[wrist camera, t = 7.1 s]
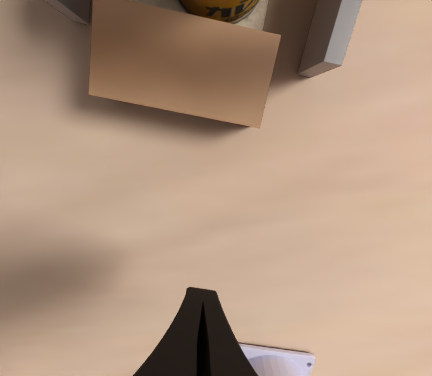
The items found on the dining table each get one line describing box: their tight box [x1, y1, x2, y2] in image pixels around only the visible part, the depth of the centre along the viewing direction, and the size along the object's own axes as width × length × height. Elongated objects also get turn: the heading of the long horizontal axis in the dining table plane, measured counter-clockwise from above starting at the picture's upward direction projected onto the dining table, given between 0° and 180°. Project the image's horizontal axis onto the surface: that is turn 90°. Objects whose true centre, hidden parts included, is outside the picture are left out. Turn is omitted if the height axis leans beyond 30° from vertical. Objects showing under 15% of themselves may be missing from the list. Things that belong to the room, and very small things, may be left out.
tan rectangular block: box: [89, 0, 281, 128], centre depth 15 cm, size 5×10×4 cm, turn 79°
